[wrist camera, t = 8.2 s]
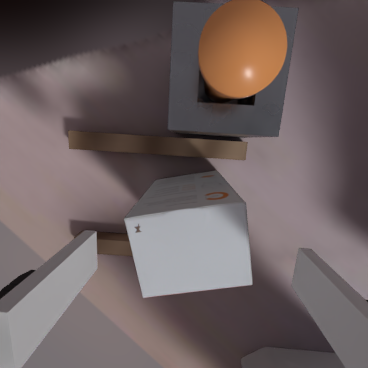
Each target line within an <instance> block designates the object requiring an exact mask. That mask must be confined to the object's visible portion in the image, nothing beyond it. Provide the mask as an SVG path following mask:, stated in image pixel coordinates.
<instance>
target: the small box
mask: <svg viewBox="0 0 368 368" xmlns="http://www.w3.org/2000/svg"><path fill="white" fill-rule="evenodd" d="M124 222H125V225H126V229H127V233H128V237H129V241H130V245H131V250H132V254H133V258H134V262H135V266H136V271H137V275H138V279H139V283H140V287H141V292H142V296H143V298H148V297H155V296H164V295H172V294H180V293H189V292H197V291H205V290H213V289H222V288H231V287H239V286H248V285H252V283H253V282H252V270H251V258H250V246H249V234H248V222H247V209H246V203H245V201H244V200H243V199H242V198H241V197H240V196H239V195H238V194H237V193H236V192H235V190H234V189H233V188H232V187H231V186H230V185H229V184H228V182H227V181H226V180H225V179H224V178H223V177H222V175H221V174H220V173H219V172H218V171H217V170H216V171H209V172H202V173H195V174H189V175H182V176H176V177H169V178H163V179H158V180H155V181H154V182H153V184H152V185H151V186H150V187H149V189H148V190H147V191H146V192H145V194H144V195H143V196H142V197H141V198H140V200H139V201H138V202H137V203H136V205H135V206H134V207H133V208H132V209H131V211H130V212H129V213H128V214H127V216H126V217H125V218H124Z"/></svg>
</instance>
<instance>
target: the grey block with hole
mask: <svg viewBox="0 0 368 368" xmlns="http://www.w3.org/2000/svg"><path fill="white" fill-rule="evenodd" d="M222 5H224V4H214V3H196V2H177V1H176V2H175V1H174V2H173V19H172V42H171V65H170V87H169V110H168V130H170V131H172V132H175V133H180V134H195V135H211V136H227V137H242V138H247V137H278V136H279V130H280V124H281V117H282V111H283V104H284V98H285V92H286V85H287V79H288V72H289V66H290V60H291V53H292V47H293V40H294V34H295V28H296V21H297V15H298V9H299V8H289V7H272V8H273V9H274V10H275V11H276V13H277V14H278V15H279V17H280V18H281V20H282V22H283V24H284V27H285V30H286V35H287V52H286V57H285V60H284V63H283V66H282V68H281V70H280V72H279V73H278V75H277V76H276V77H275V79H274V80H273V81H272V82H271V83H270V84H269V85H268V86H266V87H265V88H264V89H262V90H261V91H259V92H258V93H256V94H254V95H252V96H250V97H246V98H241V99H233V100H231V101H230V102H227V103H216V102H214V101H212V100H211V99H209V97H208V96H207V95H206V93H205V89H204V78H203V77H202V74H201V72H200V68H199V63H198V49H199V41H200V37H201V33H202V30H203V28H204V26H205V24H206V22H207V21H208V19H209V18H210V16H211V15H212V14H213V13H214V12H215V11H216V10H217V9H218V8H219V7H221V6H222Z"/></svg>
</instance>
